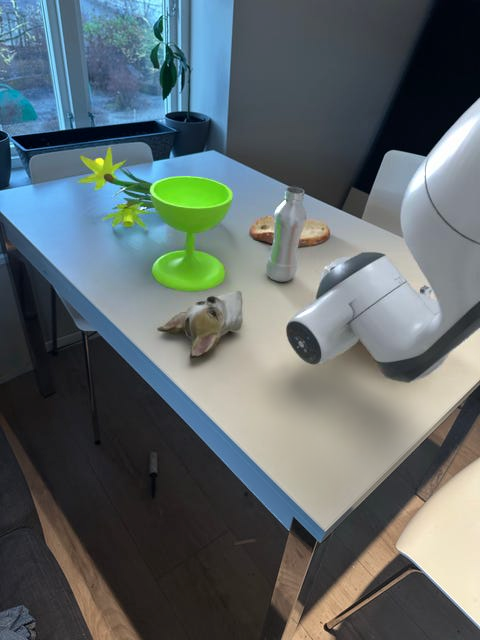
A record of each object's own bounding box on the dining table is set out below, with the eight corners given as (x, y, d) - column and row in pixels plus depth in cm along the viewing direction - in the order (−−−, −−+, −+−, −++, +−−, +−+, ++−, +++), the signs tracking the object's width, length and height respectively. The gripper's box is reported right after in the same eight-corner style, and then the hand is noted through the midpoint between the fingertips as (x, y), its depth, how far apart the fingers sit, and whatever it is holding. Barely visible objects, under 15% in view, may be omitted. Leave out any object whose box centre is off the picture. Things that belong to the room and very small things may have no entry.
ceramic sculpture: (262, 297, 76) (191, 333, 68) (258, 335, 81) (192, 373, 73) (222, 270, 82) (152, 300, 74) (220, 307, 87) (156, 339, 79)
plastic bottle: (300, 279, 99) (319, 193, 87) (278, 288, 95) (295, 199, 83) (280, 266, 103) (295, 181, 91) (258, 274, 99) (271, 187, 87)
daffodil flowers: (225, 229, 117) (98, 219, 94) (192, 237, 128) (71, 229, 105) (222, 164, 116) (92, 137, 93) (189, 177, 127) (66, 156, 104)
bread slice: (334, 233, 120) (337, 220, 117) (307, 259, 107) (310, 245, 104) (275, 213, 126) (277, 201, 124) (243, 235, 113) (244, 222, 111)
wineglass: (193, 246, 106) (197, 171, 95) (240, 275, 98) (250, 197, 87) (136, 265, 97) (133, 185, 86) (183, 300, 88) (185, 215, 77)
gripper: (427, 321, 65) (466, 290, 74) (317, 262, 76) (361, 241, 84) (413, 353, 69) (451, 320, 77) (310, 292, 80) (353, 269, 88)
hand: (403, 278), depth 81 cm, fingers open, 8 cm apart
